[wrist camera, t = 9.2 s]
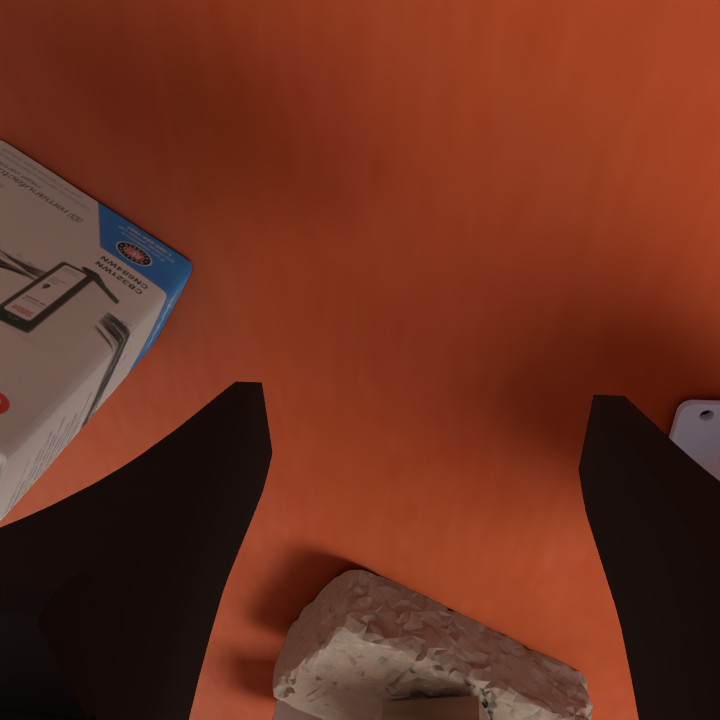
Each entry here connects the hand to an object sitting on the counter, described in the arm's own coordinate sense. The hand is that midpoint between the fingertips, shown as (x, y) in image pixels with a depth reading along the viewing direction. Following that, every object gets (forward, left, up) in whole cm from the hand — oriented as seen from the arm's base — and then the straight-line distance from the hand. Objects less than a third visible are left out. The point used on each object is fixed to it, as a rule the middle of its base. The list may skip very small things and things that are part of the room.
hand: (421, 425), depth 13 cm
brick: (-1, +25, -11) cm, 27 cm away
